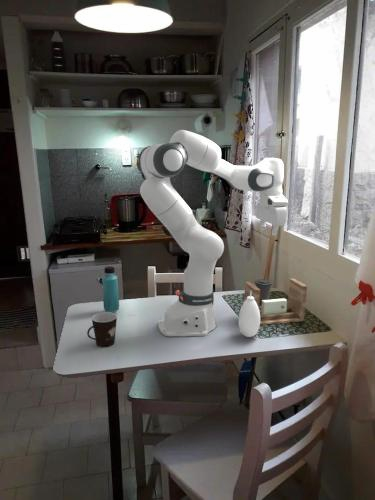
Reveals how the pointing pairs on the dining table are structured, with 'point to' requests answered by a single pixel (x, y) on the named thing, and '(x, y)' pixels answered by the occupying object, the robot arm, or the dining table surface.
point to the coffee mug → (104, 328)
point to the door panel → (273, 306)
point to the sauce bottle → (249, 317)
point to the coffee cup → (263, 288)
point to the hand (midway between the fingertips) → (268, 232)
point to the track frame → (294, 303)
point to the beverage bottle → (110, 290)
